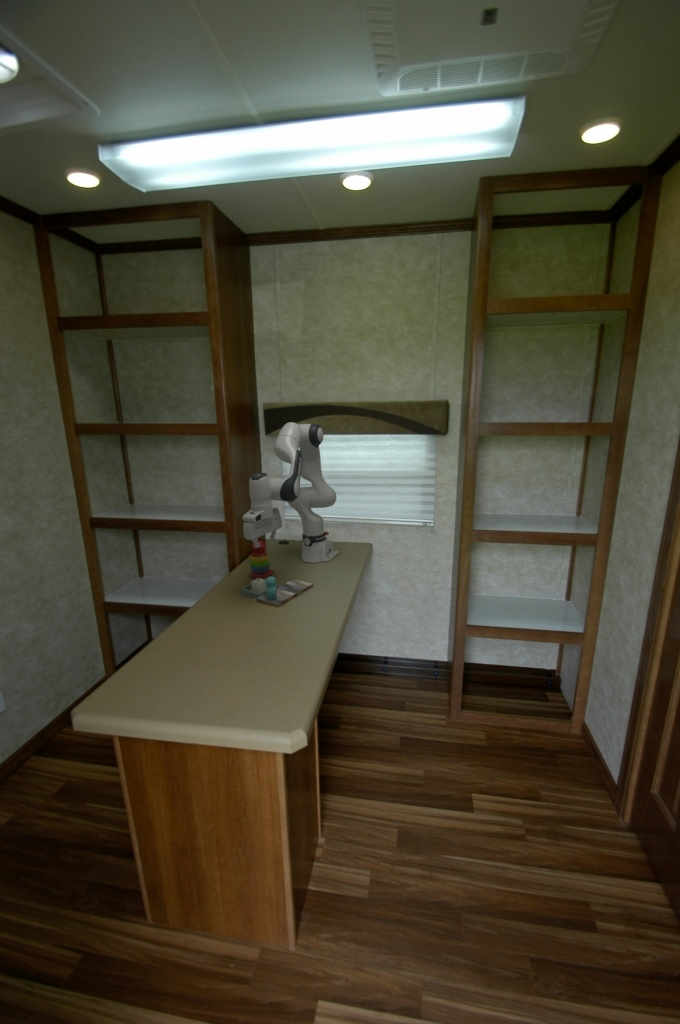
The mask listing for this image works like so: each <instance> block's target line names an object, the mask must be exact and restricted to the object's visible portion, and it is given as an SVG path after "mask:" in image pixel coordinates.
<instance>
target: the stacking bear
mask: <svg viewBox="0 0 680 1024" xmlns="http://www.w3.org/2000/svg"><path fill="white" fill-rule="evenodd" d="M251 541H252V540H251ZM257 541H258V543H260V547H258V548H256V547H255V544H254V542H253V541H252V542H251V549H252V552H251V555H250V561H249V566H250V569H251V573H250V576H251V578H252V579H253V580H255V579H257V578H260V579H264V580H265V579H267V578H268V577H272V575H273V574H274V573H275V572H274V571H275V570H273V569H271V568H270V566H271V563H270V558H269V557H270V556H269V555H268V553H267V552H266V549H267V548H266V547H267V545H266V541H265V540H257Z"/></svg>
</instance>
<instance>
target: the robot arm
mask: <svg viewBox="0 0 680 1024" xmlns="http://www.w3.org/2000/svg"><path fill="white" fill-rule="evenodd" d="M323 440H324V430H323V428H322V426H321V425H320V424H317V423H299V424H298V423H296V422H292V421H290V422H287V423H285V424H284V425H283V427H282V428H281V429H280V431H279V432H278V435H277V437H276V440H275V441H274V444H273V452H274V453H275V455H276V457H277V458H278V459H279V460H280V461H282V462H284V463H286V464H289V465H290V469H289V474H288V476H286V477H281V478H280V477H271V476H269V474H268V473H266V472H258V473H253V474H252V475H251V476H249V481H248V482H249V484H248V485H249V486H248V489H249V497H250V501H251V503H250V508H249V510H248V511H247V512H245V514H243V515H242V520H243V521H244V522H243V525H242V526H243V527H242V529H243V530H242V531H243V537H244V539H246V540H249V541H253V542H254V544H255V547H256V548H258V547H260V543H258V541H259V540H258V539H259V538H260V537H262V536H264V535H266V534H269V533H270V536H269V540H270V542H272V541H275V540H276V534H277V530H279V529H281V528H282V527H283V521H282V516H281V513H280V509H279V508H277V507H274V506H273V502H272V501H277V502H278V501H282V502H287V504H288V506H289V507H291V508H292V509H294V510H295V511H296V512H297V513H298V516H299V517H300V520H301V525H302V526H301V527H302V536H301V537H302V543H301V554H300V557H301V561H303V562H304V563H313V564H315V563H316V564H317V563H323V562H325V563H326V562H330V561H331V560H332V559H334V558H335V557H336V556H338V554H340V551H339V550H338V549H335V543H334V542H333V541H331V540H330V539H328V538H327V536H329V534H330V533H329V531H324V527H325V526H324V524H325V523H324V518H323V517H322V515H319V514H317V513H315V512H314V511H313V510H312V509H321V508H322V509H324V508H329V507H333V506H334V505H335V504H336V501H337V493H336V491H335V489H334V488H333V487H331V486H330V485H329V484H328V483H327V482H326V481H325V479H324V476H323V471H322V461H321V460H322V459H321V451H320V449H321V448H320V445H321V444H322V443H323ZM301 479H303V480H305V481H308V482H310V483H311V486H305V487H301V486H300V485H301V484H300V483H301ZM273 507H274V508H273Z"/></svg>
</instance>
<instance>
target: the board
mask: <svg viewBox="0 0 680 1024" xmlns="http://www.w3.org/2000/svg"><path fill="white" fill-rule="evenodd" d="M312 588H314V584H313V583H311V582H307V581H302V580H298V579H294V578H292V579H291V580H289V581H287V582H284V583H283V584H281V585H280V586H279V585H278V587H277V588H276V592H277V599H276V600H268V599H267V593H266V594H264V595H262V596H261V597H259V598H257V599H256V598H255V600H256V602H258V603H261V604H264V605H268V606H272V607H276V608H280V607H281V605H282V606H283V605H285V604H286V603H288V602H290V601H292V600H293V599H296V598H297V597H298V596H300V595H302V594H304V593H305V592H306V591H308V589H309V590H310V589H312Z"/></svg>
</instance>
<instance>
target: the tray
mask: <svg viewBox="0 0 680 1024" xmlns="http://www.w3.org/2000/svg"><path fill="white" fill-rule="evenodd" d="M277 587H279V584H277V583H276V588H277ZM238 589H239V594H240V595H242V596H245V597H249V598H252V599H255V600H256V599H257V598H259V597H261V596H262V595H264V594H266V593H267V589H266V590H264V591H262V592H260V593H258V592H254V591H252V585H251V583H249V584H247V585H245V586H242V587H240V588H238Z"/></svg>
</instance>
